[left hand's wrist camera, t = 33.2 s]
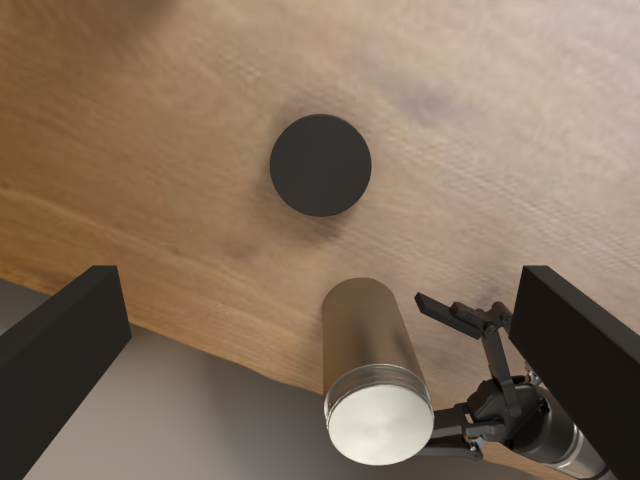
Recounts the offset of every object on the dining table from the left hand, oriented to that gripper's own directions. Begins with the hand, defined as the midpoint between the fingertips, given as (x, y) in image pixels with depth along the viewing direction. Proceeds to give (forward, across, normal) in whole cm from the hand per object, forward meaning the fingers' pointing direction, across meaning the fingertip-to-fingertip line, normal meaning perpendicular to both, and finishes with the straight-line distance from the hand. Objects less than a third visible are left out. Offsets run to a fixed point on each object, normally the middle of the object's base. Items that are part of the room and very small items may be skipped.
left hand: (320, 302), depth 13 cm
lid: (+26, 0, 0) cm, 26 cm away
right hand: (+21, +6, -18) cm, 28 cm away
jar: (+28, +5, -17) cm, 33 cm away
